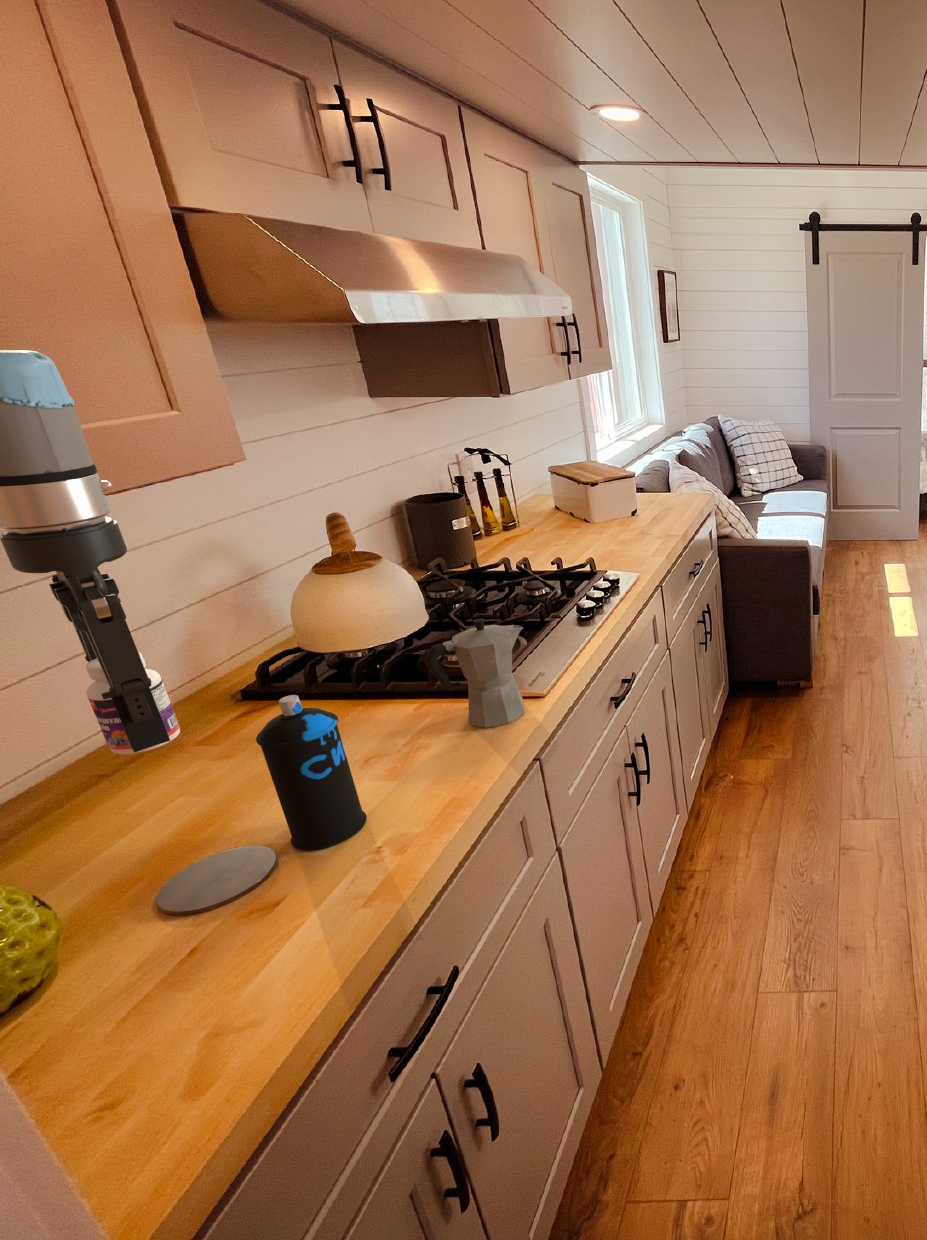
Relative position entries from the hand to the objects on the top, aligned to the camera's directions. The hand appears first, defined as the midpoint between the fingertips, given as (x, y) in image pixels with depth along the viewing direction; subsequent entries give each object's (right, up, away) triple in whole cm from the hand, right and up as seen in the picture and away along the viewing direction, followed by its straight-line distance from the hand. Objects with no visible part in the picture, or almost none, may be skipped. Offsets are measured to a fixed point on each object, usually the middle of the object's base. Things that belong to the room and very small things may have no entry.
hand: (144, 735), depth 74 cm
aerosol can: (+4, -17, +20) cm, 27 cm away
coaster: (-2, -20, +11) cm, 23 cm away
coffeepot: (+11, -7, +47) cm, 49 cm away
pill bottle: (0, -1, 0) cm, 1 cm away
